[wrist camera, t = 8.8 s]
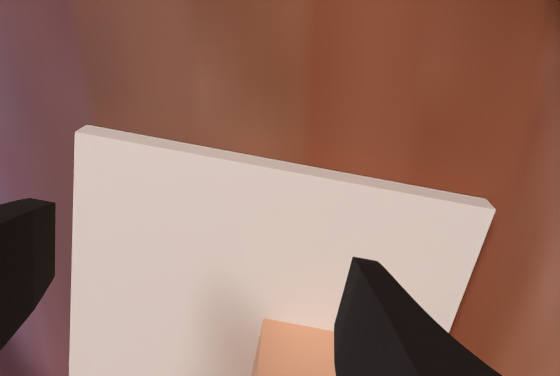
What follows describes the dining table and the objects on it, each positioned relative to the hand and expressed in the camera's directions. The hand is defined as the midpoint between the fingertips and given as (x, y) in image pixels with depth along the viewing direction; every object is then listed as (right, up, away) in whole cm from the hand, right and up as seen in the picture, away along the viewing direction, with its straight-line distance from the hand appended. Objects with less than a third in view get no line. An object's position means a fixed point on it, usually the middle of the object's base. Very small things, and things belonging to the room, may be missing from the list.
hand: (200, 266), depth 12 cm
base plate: (+1, -5, +13) cm, 14 cm away
